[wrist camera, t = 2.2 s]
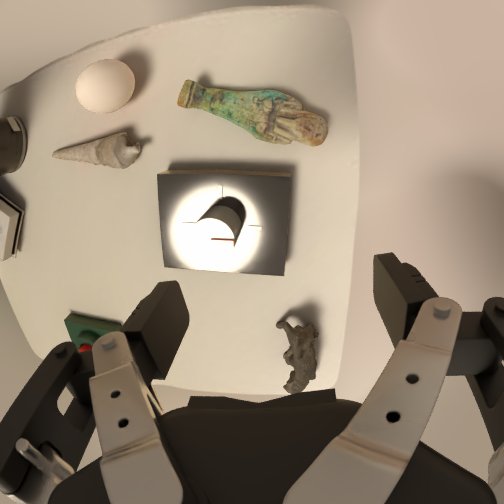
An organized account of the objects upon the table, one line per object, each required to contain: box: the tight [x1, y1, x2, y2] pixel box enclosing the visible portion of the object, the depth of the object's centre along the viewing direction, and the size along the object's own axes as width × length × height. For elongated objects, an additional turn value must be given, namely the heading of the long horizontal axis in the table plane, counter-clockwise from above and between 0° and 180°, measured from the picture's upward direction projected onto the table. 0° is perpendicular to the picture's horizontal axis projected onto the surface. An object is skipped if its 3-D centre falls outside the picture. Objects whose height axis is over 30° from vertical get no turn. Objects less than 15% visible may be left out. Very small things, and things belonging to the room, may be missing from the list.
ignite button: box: [79, 344, 92, 352], centre depth 40 cm, size 4×4×2 cm
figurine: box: [177, 80, 328, 146], centre depth 27 cm, size 6×15×4 cm, turn 65°
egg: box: [75, 59, 135, 113], centre depth 25 cm, size 6×6×8 cm
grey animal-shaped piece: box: [276, 322, 319, 394], centre depth 37 cm, size 12×6×7 cm, turn 6°
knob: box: [188, 206, 242, 263], centre depth 29 cm, size 4×4×5 cm
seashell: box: [52, 132, 141, 169], centre depth 30 cm, size 4×16×4 cm, turn 89°
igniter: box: [64, 314, 121, 350], centre depth 43 cm, size 11×9×4 cm
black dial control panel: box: [157, 170, 291, 276], centre depth 32 cm, size 14×11×3 cm
